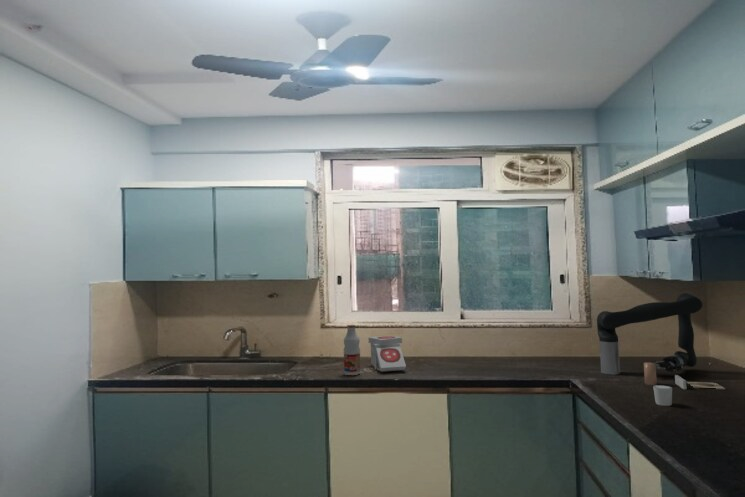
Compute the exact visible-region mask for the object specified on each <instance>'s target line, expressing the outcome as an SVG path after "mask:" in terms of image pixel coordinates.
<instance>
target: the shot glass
mask: <svg viewBox="0 0 745 497" xmlns="http://www.w3.org/2000/svg"><path fill="white" fill-rule="evenodd" d="M652 386H653V387H652V388H653V394H654V400H655V404H656V405H659V406H664V407H665V406H666V407H669V406H672V404H673V403H672V402H673V387H672V386H668V385H663V384H662V385H660V384H659V385H658V384H657V385H652Z"/></svg>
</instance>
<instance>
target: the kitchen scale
mask: <svg viewBox="0 0 745 497" xmlns="http://www.w3.org/2000/svg"><path fill="white" fill-rule="evenodd" d="M368 343H369V344H370V364H371V363H372V364H373V365H374V366H375V367H376V368H379V369H380V370H379V372H391V371H395V372H396V371H405V370H406V367H407V364H406V361H405V359H404V355H403V351H402V348H401V345H400V344H403V338H402V336H401V337H400V336H395V335H389V334H388V335H381V336H380V335H378V336H370V337H368Z"/></svg>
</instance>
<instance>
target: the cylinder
mask: <svg viewBox="0 0 745 497" xmlns="http://www.w3.org/2000/svg"><path fill="white" fill-rule="evenodd" d="M643 372H644V374H643V376H644V384H645V385H647V386H655V385H658V384H657V383H658V382H657V368H656V364H655V363H651V361H648V362H643Z"/></svg>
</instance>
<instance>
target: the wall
mask: <svg viewBox="0 0 745 497" xmlns="http://www.w3.org/2000/svg"><path fill="white" fill-rule="evenodd" d="M674 380H675V381H674V382H675V385H677V386H678V387H679V388H681V389H683V390H687V389H688V388H687V380H686V379H684V378H682V377H681V376H680V375H678V374H674Z"/></svg>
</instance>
